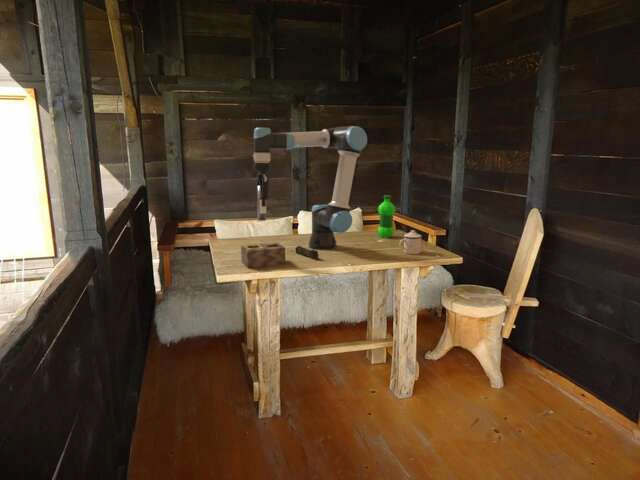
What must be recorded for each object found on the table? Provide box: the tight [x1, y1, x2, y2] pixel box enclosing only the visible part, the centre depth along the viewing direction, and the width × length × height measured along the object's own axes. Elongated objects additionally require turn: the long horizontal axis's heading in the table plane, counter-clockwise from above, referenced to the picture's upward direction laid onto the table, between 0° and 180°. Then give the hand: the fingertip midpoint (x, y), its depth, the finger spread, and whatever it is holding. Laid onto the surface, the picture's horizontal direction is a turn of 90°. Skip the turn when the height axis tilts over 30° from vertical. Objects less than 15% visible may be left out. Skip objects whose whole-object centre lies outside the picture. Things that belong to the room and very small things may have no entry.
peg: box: [256, 186, 267, 222], centre depth 224 cm, size 4×4×16 cm
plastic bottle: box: [377, 194, 396, 238], centre depth 286 cm, size 10×10×25 cm
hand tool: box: [294, 245, 319, 261], centre depth 239 cm, size 19×4×5 cm, turn 30°
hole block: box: [240, 242, 286, 269], centre depth 225 cm, size 18×12×8 cm, turn 112°
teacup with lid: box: [399, 229, 423, 255], centre depth 248 cm, size 12×9×12 cm
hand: (261, 212), depth 225 cm, fingers closed on peg, 4 cm apart
